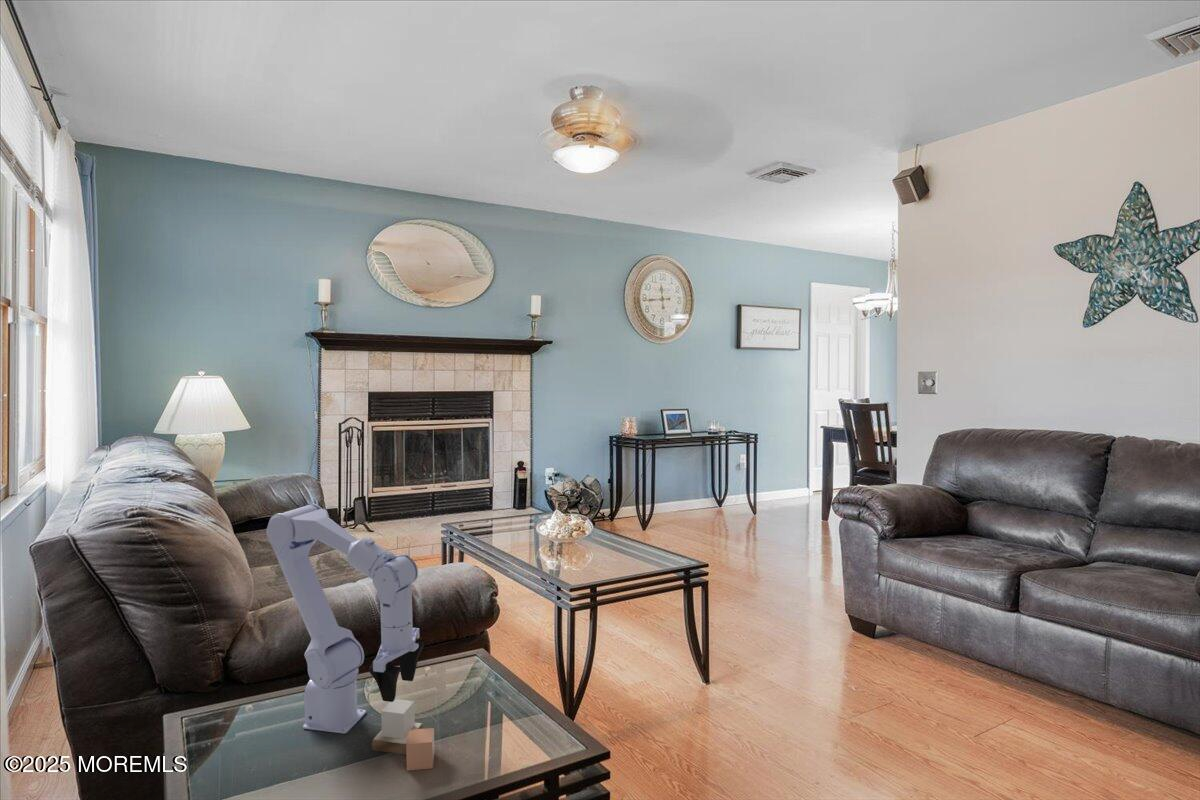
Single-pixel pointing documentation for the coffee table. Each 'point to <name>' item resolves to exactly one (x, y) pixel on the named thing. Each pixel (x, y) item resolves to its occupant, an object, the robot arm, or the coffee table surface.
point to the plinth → (392, 742)
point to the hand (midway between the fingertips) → (398, 690)
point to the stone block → (398, 718)
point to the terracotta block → (420, 749)
